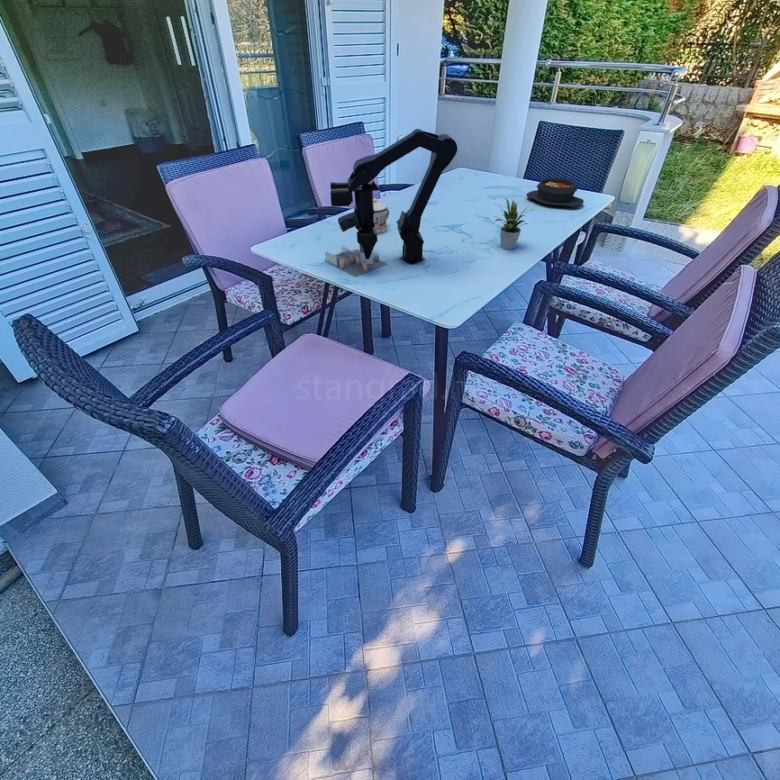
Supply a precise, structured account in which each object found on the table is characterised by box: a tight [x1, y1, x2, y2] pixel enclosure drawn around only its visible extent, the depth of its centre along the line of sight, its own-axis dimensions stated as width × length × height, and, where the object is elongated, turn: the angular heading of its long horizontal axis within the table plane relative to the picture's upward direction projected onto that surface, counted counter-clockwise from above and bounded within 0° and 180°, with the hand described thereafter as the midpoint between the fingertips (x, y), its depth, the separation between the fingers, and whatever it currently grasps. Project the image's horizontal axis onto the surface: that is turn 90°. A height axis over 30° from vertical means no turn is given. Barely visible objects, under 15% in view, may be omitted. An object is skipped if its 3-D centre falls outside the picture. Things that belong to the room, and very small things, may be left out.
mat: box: [324, 248, 388, 278], centre depth 150 cm, size 17×14×1 cm
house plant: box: [493, 197, 534, 250], centre depth 157 cm, size 14×14×16 cm
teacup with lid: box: [373, 198, 390, 235], centre depth 171 cm, size 12×9×12 cm
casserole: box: [526, 177, 584, 207], centre depth 196 cm, size 25×19×8 cm
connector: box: [358, 243, 374, 264], centre depth 149 cm, size 4×4×6 cm
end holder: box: [324, 245, 355, 268], centre depth 150 cm, size 7×8×3 cm
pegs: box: [339, 254, 380, 273], centre depth 147 cm, size 9×14×3 cm, turn 132°
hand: (366, 253), depth 149 cm, fingers open, 9 cm apart
